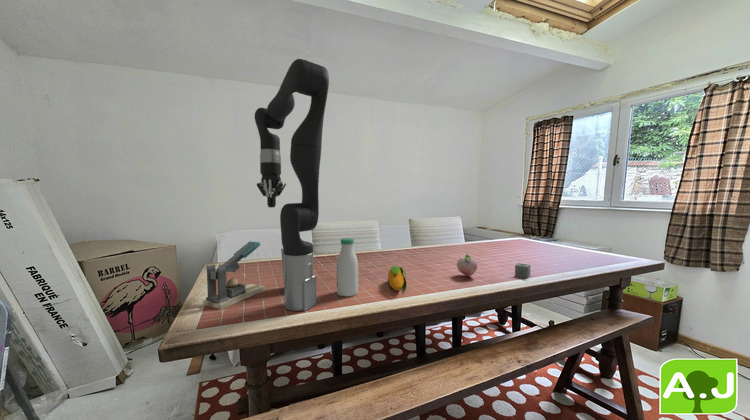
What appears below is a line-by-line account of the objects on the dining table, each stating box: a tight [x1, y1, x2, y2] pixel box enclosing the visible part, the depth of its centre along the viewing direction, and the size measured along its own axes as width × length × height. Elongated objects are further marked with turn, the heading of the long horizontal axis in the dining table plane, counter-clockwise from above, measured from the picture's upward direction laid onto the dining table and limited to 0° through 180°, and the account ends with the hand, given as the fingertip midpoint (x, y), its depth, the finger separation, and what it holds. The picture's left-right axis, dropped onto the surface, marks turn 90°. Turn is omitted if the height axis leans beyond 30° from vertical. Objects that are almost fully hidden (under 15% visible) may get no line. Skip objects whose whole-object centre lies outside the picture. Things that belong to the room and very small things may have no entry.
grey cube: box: [514, 262, 531, 279], centre depth 124 cm, size 5×5×5 cm
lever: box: [210, 241, 261, 281], centre depth 98 cm, size 5×17×11 cm, turn 157°
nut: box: [226, 277, 239, 289], centre depth 97 cm, size 4×4×4 cm
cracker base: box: [202, 264, 267, 310], centre depth 98 cm, size 8×19×13 cm, turn 157°
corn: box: [387, 265, 407, 292], centre depth 108 cm, size 7×8×20 cm
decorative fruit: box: [456, 253, 478, 278], centre depth 123 cm, size 9×8×10 cm
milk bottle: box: [336, 237, 359, 297], centre depth 102 cm, size 8×8×20 cm
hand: (271, 207), depth 109 cm, fingers closed
